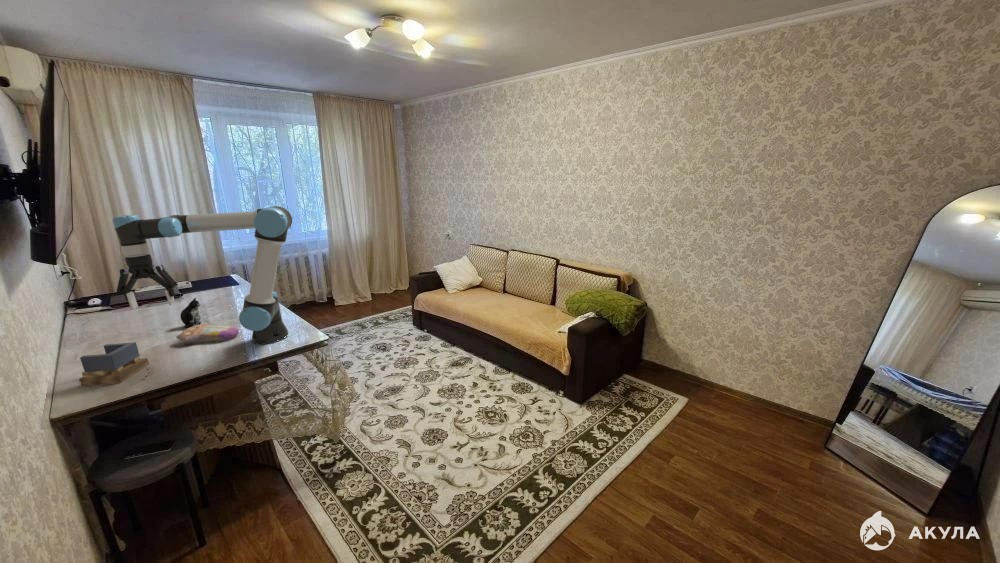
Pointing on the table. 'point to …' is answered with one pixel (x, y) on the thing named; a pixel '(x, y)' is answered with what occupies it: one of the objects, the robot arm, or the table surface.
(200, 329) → the sculpture
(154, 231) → the robot arm
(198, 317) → the figurine
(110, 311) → the table surface
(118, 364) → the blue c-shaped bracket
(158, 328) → the table surface
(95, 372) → the stand
